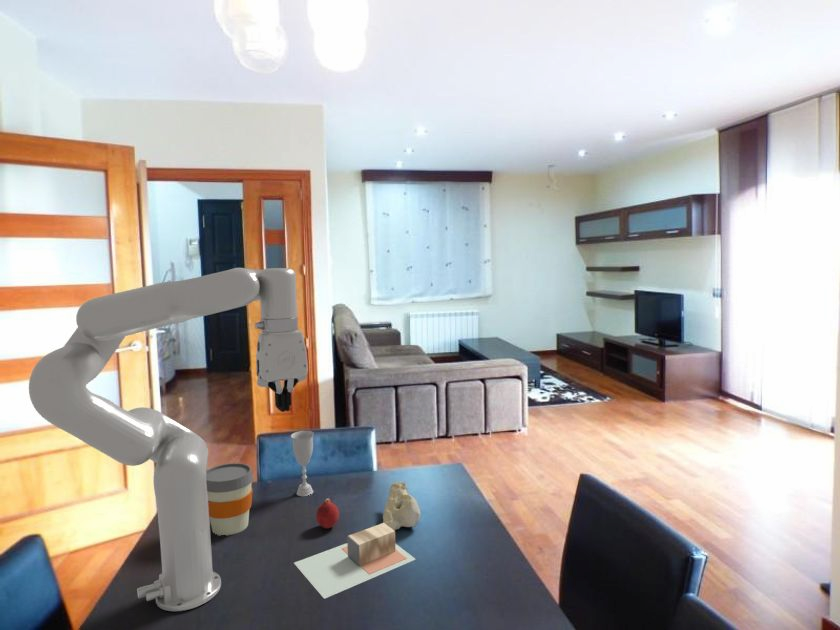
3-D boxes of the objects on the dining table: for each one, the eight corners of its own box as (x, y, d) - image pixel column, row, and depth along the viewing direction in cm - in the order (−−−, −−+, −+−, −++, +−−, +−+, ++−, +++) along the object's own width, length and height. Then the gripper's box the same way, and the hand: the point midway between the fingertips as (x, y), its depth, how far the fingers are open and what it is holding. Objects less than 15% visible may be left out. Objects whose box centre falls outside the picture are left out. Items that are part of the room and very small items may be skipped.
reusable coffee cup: (202, 543, 128) (199, 485, 126) (206, 519, 139) (203, 466, 138) (255, 533, 132) (252, 477, 130) (254, 512, 143) (252, 460, 142)
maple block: (357, 545, 115) (395, 531, 121) (347, 536, 119) (383, 522, 125) (358, 566, 115) (395, 551, 121) (347, 556, 120) (384, 542, 125)
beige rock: (413, 550, 126) (441, 496, 135) (393, 533, 124) (422, 479, 133) (382, 543, 139) (409, 494, 147) (363, 527, 137) (391, 478, 145)
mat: (324, 601, 105) (324, 598, 105) (293, 564, 118) (293, 562, 118) (416, 561, 118) (415, 558, 118) (379, 532, 131) (379, 530, 131)
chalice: (313, 497, 152) (311, 438, 150) (290, 498, 152) (287, 438, 150) (318, 487, 159) (316, 430, 157) (296, 487, 159) (294, 430, 157)
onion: (334, 535, 130) (333, 505, 129) (313, 533, 131) (312, 503, 130) (342, 524, 136) (341, 495, 135) (322, 522, 137) (320, 493, 136)
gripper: (250, 330, 102) (254, 420, 104) (319, 324, 111) (322, 407, 113) (239, 327, 108) (243, 412, 110) (305, 321, 117) (308, 400, 119)
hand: (283, 409), depth 111 cm, fingers closed
